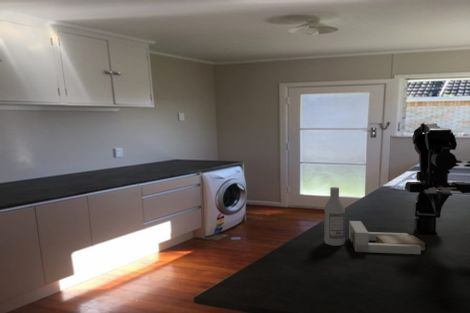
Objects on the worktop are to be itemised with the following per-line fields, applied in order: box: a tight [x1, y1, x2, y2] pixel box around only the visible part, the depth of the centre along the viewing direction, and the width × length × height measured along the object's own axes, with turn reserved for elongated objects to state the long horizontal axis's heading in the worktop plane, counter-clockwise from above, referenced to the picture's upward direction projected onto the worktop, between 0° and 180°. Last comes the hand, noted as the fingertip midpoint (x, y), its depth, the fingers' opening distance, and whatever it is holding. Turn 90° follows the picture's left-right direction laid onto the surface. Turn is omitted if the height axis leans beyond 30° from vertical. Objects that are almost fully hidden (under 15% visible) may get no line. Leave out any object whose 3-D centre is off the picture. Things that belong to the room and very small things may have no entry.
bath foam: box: [323, 186, 346, 247], centre depth 123 cm, size 7×7×20 cm
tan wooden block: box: [375, 234, 426, 251], centre depth 119 cm, size 13×8×3 cm, turn 89°
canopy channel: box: [348, 220, 422, 255], centre depth 120 cm, size 20×14×6 cm
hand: (436, 212), depth 116 cm, fingers closed
